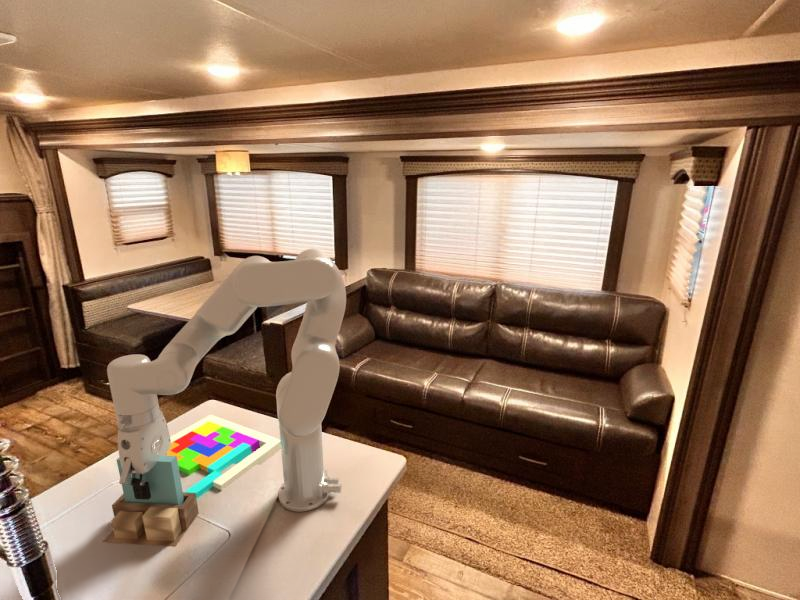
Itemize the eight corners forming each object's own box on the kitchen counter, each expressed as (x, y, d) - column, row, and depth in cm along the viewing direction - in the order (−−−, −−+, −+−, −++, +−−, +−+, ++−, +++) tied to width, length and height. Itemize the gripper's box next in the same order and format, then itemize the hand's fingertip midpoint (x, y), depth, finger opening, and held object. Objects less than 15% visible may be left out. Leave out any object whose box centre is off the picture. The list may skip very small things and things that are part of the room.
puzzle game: (212, 422, 134) (113, 479, 108) (210, 414, 133) (111, 469, 107) (282, 449, 120) (189, 521, 94) (282, 440, 119) (187, 510, 94)
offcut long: (181, 531, 90) (177, 508, 88) (174, 541, 87) (170, 517, 86) (154, 529, 90) (150, 506, 89) (146, 539, 88) (142, 516, 86)
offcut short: (145, 529, 90) (142, 512, 89) (137, 539, 88) (134, 521, 87) (123, 528, 91) (120, 511, 89) (115, 537, 88) (111, 520, 87)
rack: (199, 516, 95) (195, 492, 93) (176, 550, 86) (171, 524, 85) (132, 513, 96) (127, 489, 94) (102, 545, 87) (96, 520, 86)
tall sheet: (186, 517, 94) (176, 455, 89) (181, 524, 92) (171, 461, 87) (135, 514, 94) (123, 453, 90) (129, 521, 92) (116, 459, 88)
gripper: (127, 439, 77) (143, 519, 82) (179, 394, 94) (190, 463, 99) (88, 437, 78) (106, 517, 83) (147, 393, 94) (160, 462, 99)
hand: (152, 487), depth 91 cm, fingers open, 5 cm apart
